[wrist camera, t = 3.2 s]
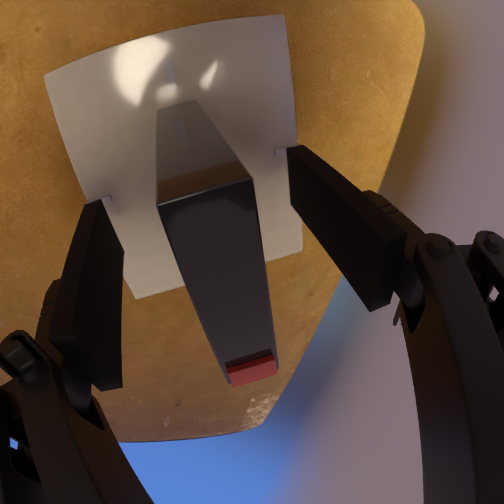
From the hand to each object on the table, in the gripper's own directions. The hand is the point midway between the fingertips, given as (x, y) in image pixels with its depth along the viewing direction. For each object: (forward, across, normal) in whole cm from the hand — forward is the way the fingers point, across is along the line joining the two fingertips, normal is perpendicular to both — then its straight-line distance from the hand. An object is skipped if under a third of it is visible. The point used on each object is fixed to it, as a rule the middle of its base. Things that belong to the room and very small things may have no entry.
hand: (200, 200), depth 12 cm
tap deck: (+6, 0, 0) cm, 6 cm away
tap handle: (+3, 0, 0) cm, 3 cm away
